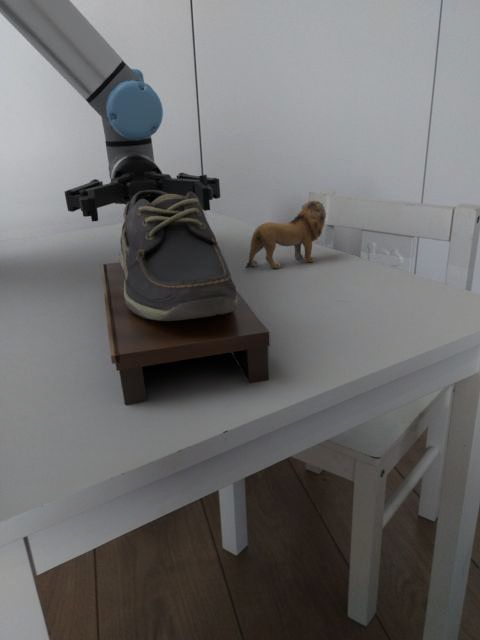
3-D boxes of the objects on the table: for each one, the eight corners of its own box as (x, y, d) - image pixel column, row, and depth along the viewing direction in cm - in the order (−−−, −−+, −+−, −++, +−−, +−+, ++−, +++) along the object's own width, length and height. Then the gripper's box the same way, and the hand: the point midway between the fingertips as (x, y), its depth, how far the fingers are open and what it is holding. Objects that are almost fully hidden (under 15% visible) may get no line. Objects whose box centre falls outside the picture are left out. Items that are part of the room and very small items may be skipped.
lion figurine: (313, 251, 95) (313, 196, 91) (333, 258, 91) (334, 201, 87) (237, 268, 88) (233, 209, 85) (255, 276, 84) (252, 215, 80)
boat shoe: (151, 349, 50) (135, 227, 45) (98, 266, 74) (83, 182, 70) (265, 326, 54) (260, 211, 49) (178, 254, 78) (170, 173, 74)
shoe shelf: (106, 300, 77) (100, 264, 75) (209, 286, 81) (206, 252, 79) (119, 406, 51) (110, 355, 49) (271, 379, 55) (269, 331, 52)
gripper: (218, 198, 92) (252, 225, 73) (57, 213, 86) (49, 246, 68) (215, 149, 89) (249, 164, 70) (47, 161, 83) (36, 181, 65)
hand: (151, 204), depth 69 cm, fingers open, 13 cm apart
